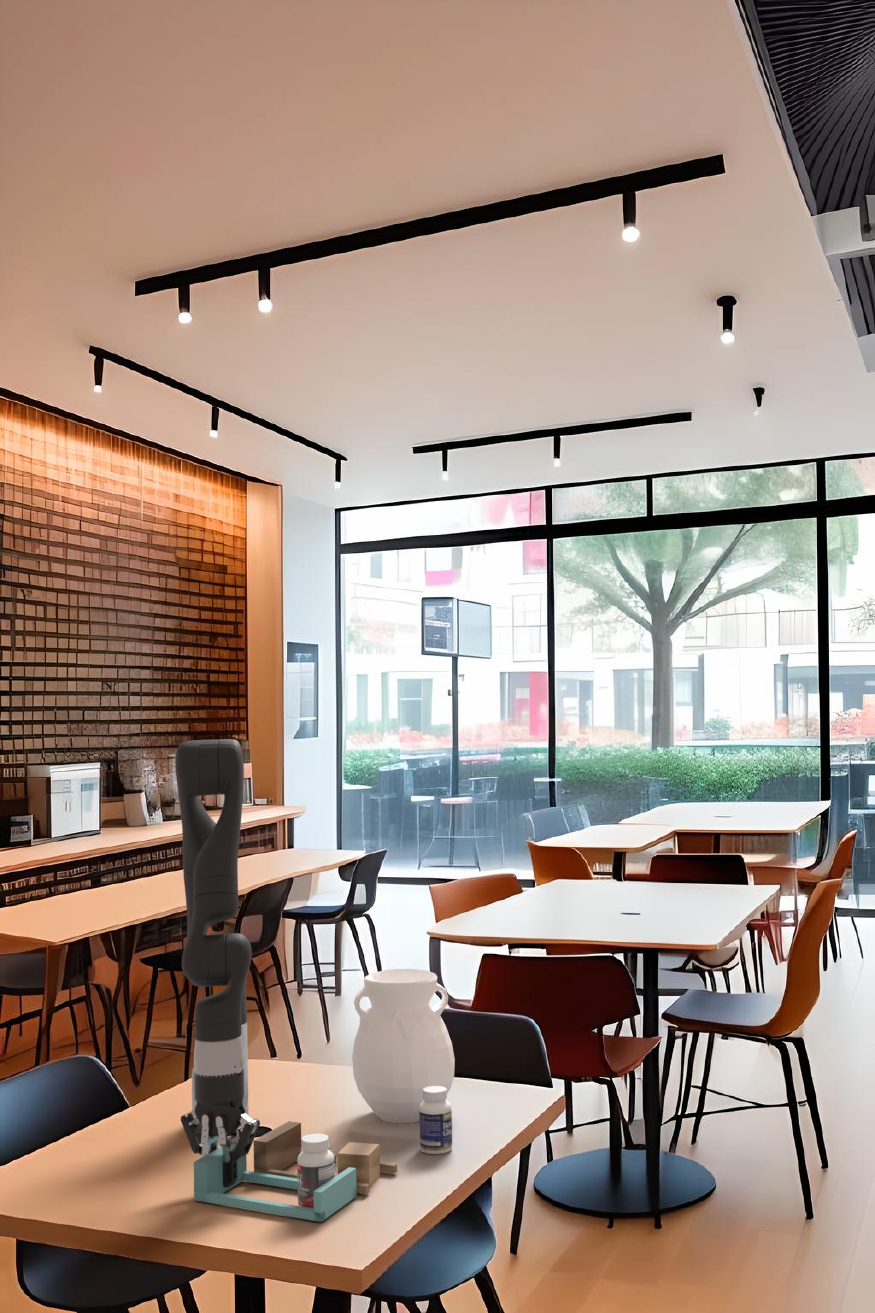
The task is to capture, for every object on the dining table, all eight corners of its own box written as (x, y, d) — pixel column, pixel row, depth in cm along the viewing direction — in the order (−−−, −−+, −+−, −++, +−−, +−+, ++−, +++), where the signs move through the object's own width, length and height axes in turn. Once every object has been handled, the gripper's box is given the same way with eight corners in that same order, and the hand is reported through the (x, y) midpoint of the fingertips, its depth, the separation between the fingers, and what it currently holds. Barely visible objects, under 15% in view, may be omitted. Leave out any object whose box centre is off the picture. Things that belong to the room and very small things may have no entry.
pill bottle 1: (290, 1208, 165) (289, 1139, 166) (317, 1197, 169) (315, 1129, 170) (315, 1217, 161) (314, 1146, 162) (342, 1205, 166) (341, 1136, 166)
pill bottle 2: (449, 1156, 185) (447, 1094, 186) (417, 1154, 186) (415, 1093, 187) (455, 1144, 190) (453, 1084, 191) (424, 1143, 191) (422, 1083, 192)
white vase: (358, 1136, 196) (354, 988, 198) (349, 1104, 214) (346, 969, 216) (464, 1127, 198) (460, 981, 201) (447, 1097, 217) (443, 963, 219)
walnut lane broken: (254, 1177, 177) (253, 1140, 178) (289, 1156, 186) (288, 1121, 187) (366, 1194, 169) (365, 1156, 169) (397, 1171, 178) (396, 1135, 178)
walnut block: (338, 1187, 173) (337, 1153, 173) (349, 1175, 178) (348, 1142, 178) (369, 1189, 172) (368, 1155, 172) (380, 1177, 176) (379, 1144, 177)
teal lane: (194, 1200, 169) (193, 1161, 169) (233, 1176, 178) (233, 1140, 178) (321, 1222, 159) (320, 1181, 160) (356, 1196, 168) (355, 1157, 169)
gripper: (166, 1069, 174) (168, 1187, 172) (242, 1077, 168) (244, 1199, 166) (197, 1057, 181) (198, 1170, 179) (270, 1064, 175) (273, 1181, 173)
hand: (221, 1184), depth 173 cm, fingers closed on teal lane, 2 cm apart
